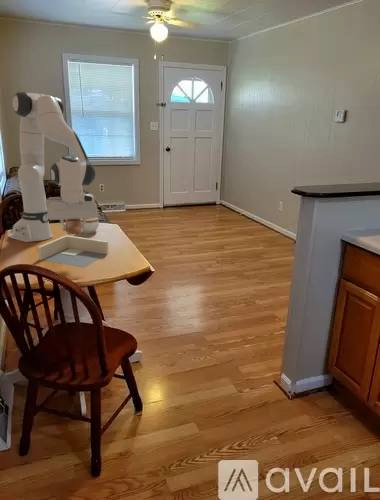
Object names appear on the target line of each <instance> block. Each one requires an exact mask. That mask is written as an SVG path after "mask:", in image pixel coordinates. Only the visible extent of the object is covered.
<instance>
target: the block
mask: <svg viewBox="0 0 380 500" xmlns="http://www.w3.org/2000/svg"><path fill="white" fill-rule="evenodd" d="M65 225H67V229H66V230H65V231H66V235H68V236H70V235H80V234H82V229H81V220H80V219H65Z"/></svg>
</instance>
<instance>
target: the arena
mask: <svg viewBox="0 0 380 500" xmlns="http://www.w3.org/2000/svg"><path fill="white" fill-rule="evenodd" d="M37 253H38V260H39V261H43V262H44V261H45V262H49V263H50V262H51V263H56V264H63V265H66V266H67V265H68V266H72V267H73V266H74V267H79V268H86V267H87V266H90V265H91V264H92V263H94V262H96V261H98V260H99V259H102V258H103V257H104V256H107V255H108V254H109V253H110V252H109V241H107V240H101V239H95V238H94V239H93V238H89V237H83V236H82V237H81V236H75V235H74V236H73V235H68V234H64V235H63V236H61V237H59V238H56V239H53V240H51V241H48V242H46V243H44V244H41V245H39V246H37Z"/></svg>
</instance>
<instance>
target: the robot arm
mask: <svg viewBox="0 0 380 500" xmlns="http://www.w3.org/2000/svg"><path fill="white" fill-rule="evenodd" d="M12 109H13V110H14V111H13V112H15V114H16V115H18V116H20V119H19V120H20V121H19V153H20V167H19V168H18V171H17V176H18V183H19V187H20V192H21V197H22V203H23V205H22V206H23V211H22V212H20V213H19V215H20V216H21V218H20V219H19V220H18V221H17V222H16V223H15V224H13V225H12V232H11V233H10V234H8V236H7V237H8V238H10V239H14V240H17V241H20V242H25V243H31V242H40V241H46V240H49V239H51V238H53V237H54V235H53V232H52V230H51V226H50V222H49V221H56V220H57V221H58V220H59V222H60V223H61V225H62V229H63V230H65V231H66V229H67V225H66V224H65V223H64V222H65V220H66V219H82V220H83V222H82V224H81V230H82V229H83V228H84V224H85V222H86V218H96V217H98V215H99V211H98V206H97V203H96V202H95V196H94V195H93V194H92V193H88V192H86V191H84V188H83V186H90V185H91V184H92V183H93V182H94V181H95V179H96V170H95V168H94V165H93V164H92V163H91V161H90V160H89V157H88V155H87V152H86V151H85V149H84V146H83V145H82V142H81V140H80V138H79V136H78V134H77V133H76V131H75V130H74V129H72V128H71V127H70V126H69V125H68V124H67V123H66V121H65V118H64V111H65V110H64V103H63V102H62V99H61V98H58V97H56V96H53V95H49V94H43V93H36V92H35V93H34V92H25V91H17V92H16V93H15V94H14V95H13V99H12ZM45 138H46V139H48V140H49V141H52V142H56V143H59V144H62V145H64V146H66V147H68V148H69V149H70V151H72V153H73V155H70V154H68V155H62V156H61V157H60V159H59V161H58V162H54V163H53V164H52V165H51V167H50V169H49V171H50V172H49V174H50V181H51V182H53V183H54V184H55V185H58V186H60V196H54V197H53V196H50V197H48V198H47V197H46V191H45V184H44V176H45V171H46V170H45Z"/></svg>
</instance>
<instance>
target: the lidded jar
mask: <svg viewBox="0 0 380 500" xmlns="http://www.w3.org/2000/svg"><path fill="white" fill-rule="evenodd" d="M99 219H100V218H99V217H98V216H97V217H96V218H86V222H85V224H84V228H83V229H81V232H83V233H85V234H94V233H96V231H98V228H99V224H100V223H99V221H100V220H99ZM80 220H81V224H82V222H83V220H82V219H80Z"/></svg>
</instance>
